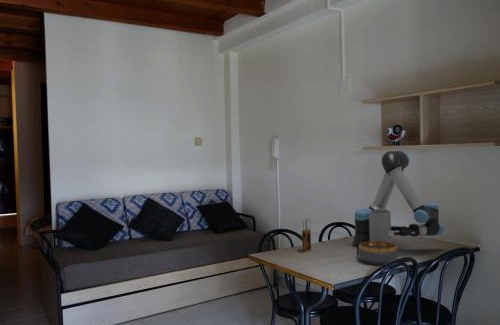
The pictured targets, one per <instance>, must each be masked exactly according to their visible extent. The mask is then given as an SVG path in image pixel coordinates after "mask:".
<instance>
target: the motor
mask: <svg viewBox="0 0 500 325" xmlns="http://www.w3.org/2000/svg"><path fill="white" fill-rule="evenodd" d="M356 255H357V256H358V261H359V263H362V264H365V265H367V266H368V265H370V266H378V267H380V266H381V267H383V266H382V265H385V264H387V263H389V262H392V261H394V260H397V259H399V256H398V255H399V253H398V245H397V244H396V243H394V242H391V243H389V242H382V241H368V242H362V243H360V244H359V247H356Z"/></svg>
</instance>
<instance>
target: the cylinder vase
mask: <svg viewBox="0 0 500 325" xmlns="http://www.w3.org/2000/svg"><path fill="white" fill-rule="evenodd" d="M391 214H392V213H391V210H387V209H386V210H371V211H369V228H370V241H382V242H389V243H392V236H388V231H391V226H392V216H391Z"/></svg>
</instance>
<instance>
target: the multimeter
mask: <svg viewBox="0 0 500 325" xmlns="http://www.w3.org/2000/svg"><path fill="white" fill-rule="evenodd" d="M308 220H309V221H311V219H310V218H307V219H306V221H303V222H302V228H303V230H302V231H301V236H302V237H301V238H302V239H301V243H302V245H301V246H302V247H296V249H297V250H298V252H299V253H301V254H303V253H304V252H308V251H310V250H312V240H311V238H312V233H311V232H312V231H311V228H308ZM304 223H305V226H304ZM301 249H302V252H301Z"/></svg>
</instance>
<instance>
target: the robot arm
mask: <svg viewBox="0 0 500 325" xmlns="http://www.w3.org/2000/svg"><path fill="white" fill-rule="evenodd" d="M409 164H410V157H409V155H408V154H407V152H405V151H402V150H391V151H390V150H389V151H387V152H385V153H383V155H382V157H381V165H382V168H383V170H384V174H383V177H382V180H381V182H380V184H379V188H378V189H377V193H376V195H375V197H374V200H373V202H372V203H370V204H369V206H368V208H359V209H357V210H355V212H354V237H353V240H352V246H353V247H355V248H359V244H360V243H362V242H368V241H370V228H369V211H371V210H387V205H388V203H389V200H390V198H391V196H392V193H393V190H394V189H395V186H396V188H397V189H398V190H399V192H400V194H401V195H402V197H403V198H404V200H405V201H406V203H407V205H408V206H409V208H410V209H411V211H412V213H413V219H414V220H415V221H416V222H417V223H410V224H409V225H408V227H407V226H403V225H402V226H399V225H395V226H394V225H391V231H388V236H391V237H394V236H395V237H397V236H399V237H401V236H402V237H407V236H411V237H421V238H422V237H426V236H427V237H429V236H432V237H435V236H441V235H443V233H444V227H443V226H444V225H443V224H442V223H440V220H439V214H440V213H439V212H440V210H439V204H437V203H426V204H425V203H424V202H423V201H422V199H421V198H420V196H419V195H418V193H417V192H416V190H415V189H414V187H413V186H412V184H411V182H410V180H409V179H408V178H407V176H406V175H405V173H404V170H405V169H406V168H407V167H408V166H409Z"/></svg>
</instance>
